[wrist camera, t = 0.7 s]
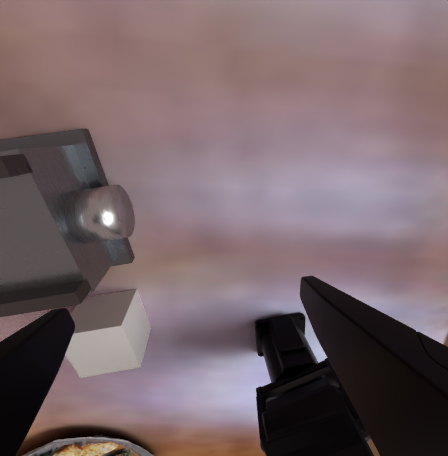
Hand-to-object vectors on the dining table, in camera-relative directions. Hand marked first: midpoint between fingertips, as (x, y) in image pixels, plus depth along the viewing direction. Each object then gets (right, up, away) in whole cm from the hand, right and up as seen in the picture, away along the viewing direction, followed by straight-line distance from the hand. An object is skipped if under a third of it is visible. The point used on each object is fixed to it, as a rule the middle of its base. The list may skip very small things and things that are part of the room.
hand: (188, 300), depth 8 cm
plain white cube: (-11, -7, +16) cm, 21 cm away
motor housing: (-15, +4, +11) cm, 18 cm away
